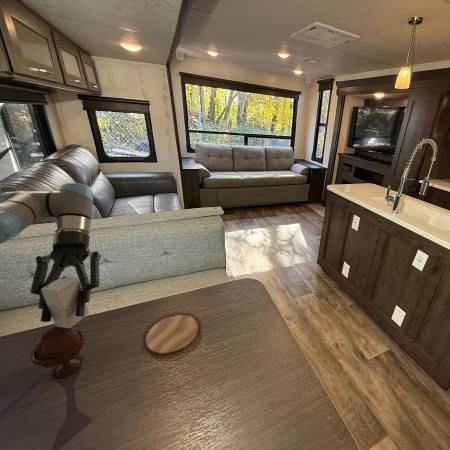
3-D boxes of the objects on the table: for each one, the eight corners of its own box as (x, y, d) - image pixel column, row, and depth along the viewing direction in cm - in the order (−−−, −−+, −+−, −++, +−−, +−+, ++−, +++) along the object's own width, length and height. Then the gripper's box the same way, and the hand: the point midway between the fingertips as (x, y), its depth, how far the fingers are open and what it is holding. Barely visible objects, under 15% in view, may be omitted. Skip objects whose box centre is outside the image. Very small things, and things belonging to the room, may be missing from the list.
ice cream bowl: (33, 375, 68) (13, 335, 62) (81, 346, 77) (68, 309, 72) (52, 395, 64) (32, 355, 58) (100, 362, 73) (88, 324, 67)
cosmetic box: (70, 328, 65) (56, 291, 60) (54, 326, 65) (39, 289, 60) (90, 312, 70) (79, 277, 66) (75, 310, 71) (63, 275, 66)
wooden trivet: (134, 351, 78) (134, 349, 77) (164, 314, 92) (163, 312, 92) (184, 357, 77) (184, 355, 77) (205, 319, 92) (205, 318, 91)
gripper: (117, 235, 77) (113, 312, 70) (37, 241, 70) (23, 326, 63) (108, 227, 71) (102, 310, 63) (19, 232, 64) (1, 326, 57)
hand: (63, 318), depth 63 cm, fingers closed on cosmetic box, 6 cm apart
